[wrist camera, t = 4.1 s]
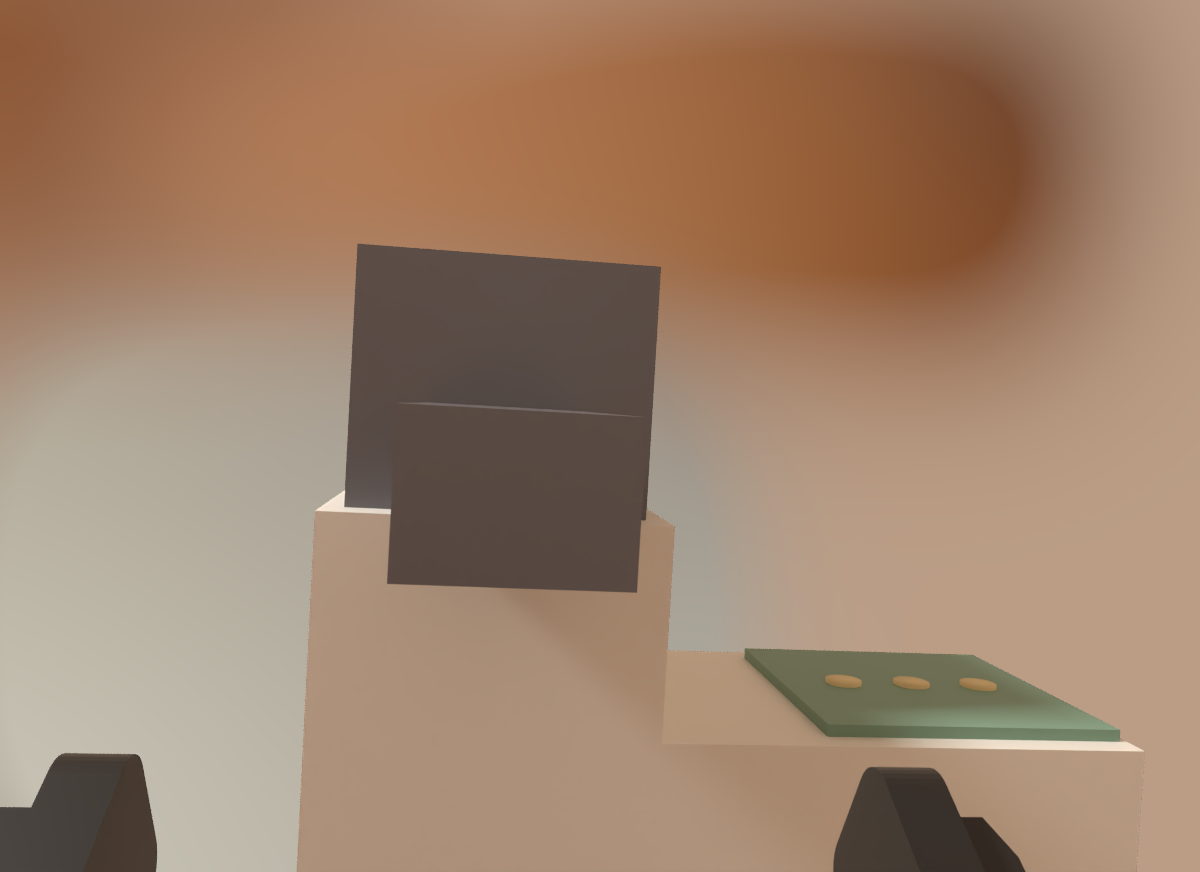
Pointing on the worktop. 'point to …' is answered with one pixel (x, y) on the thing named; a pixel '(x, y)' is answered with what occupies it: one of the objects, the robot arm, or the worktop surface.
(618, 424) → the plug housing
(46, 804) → the robot arm
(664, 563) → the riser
